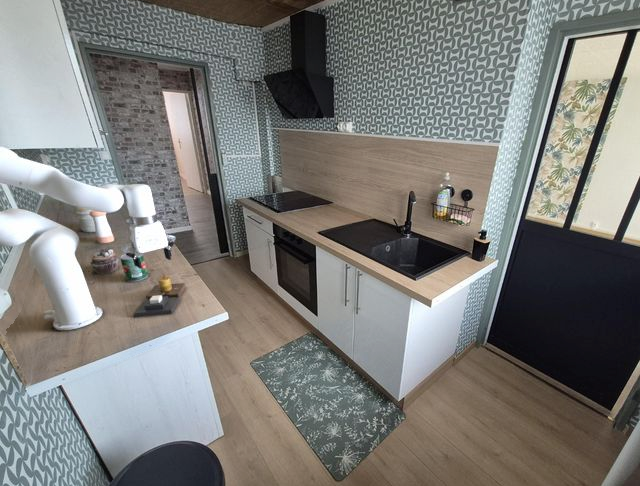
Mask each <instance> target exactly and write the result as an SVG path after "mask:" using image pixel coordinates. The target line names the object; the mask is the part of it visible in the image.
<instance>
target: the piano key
mask: <svg viewBox="0 0 640 486" xmlns="http://www.w3.org/2000/svg"><path fill="white" fill-rule="evenodd" d="M149 301H150V304H154V303H160V302H161V301H162V295H158V296H152V297H151V299H150V300H149Z"/></svg>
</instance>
